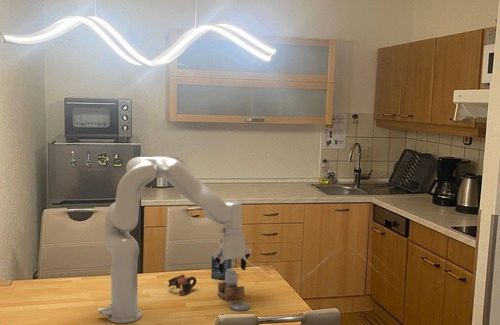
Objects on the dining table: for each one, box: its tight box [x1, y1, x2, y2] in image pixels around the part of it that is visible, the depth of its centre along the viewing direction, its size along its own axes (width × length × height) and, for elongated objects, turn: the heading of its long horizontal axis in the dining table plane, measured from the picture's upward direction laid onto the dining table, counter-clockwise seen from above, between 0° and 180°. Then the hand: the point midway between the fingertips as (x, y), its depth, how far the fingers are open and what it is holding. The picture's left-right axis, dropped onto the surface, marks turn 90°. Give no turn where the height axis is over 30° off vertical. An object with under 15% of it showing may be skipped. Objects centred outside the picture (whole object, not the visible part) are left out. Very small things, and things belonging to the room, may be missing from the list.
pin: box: [224, 267, 239, 288], centre depth 219 cm, size 4×5×11 cm
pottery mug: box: [167, 274, 197, 297], centre depth 224 cm, size 12×10×8 cm
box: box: [211, 253, 233, 281], centre depth 240 cm, size 8×6×11 cm
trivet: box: [229, 300, 251, 312], centre depth 208 cm, size 8×8×1 cm
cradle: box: [217, 280, 245, 302], centre depth 219 cm, size 9×9×5 cm
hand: (232, 270), depth 218 cm, fingers open, 9 cm apart
